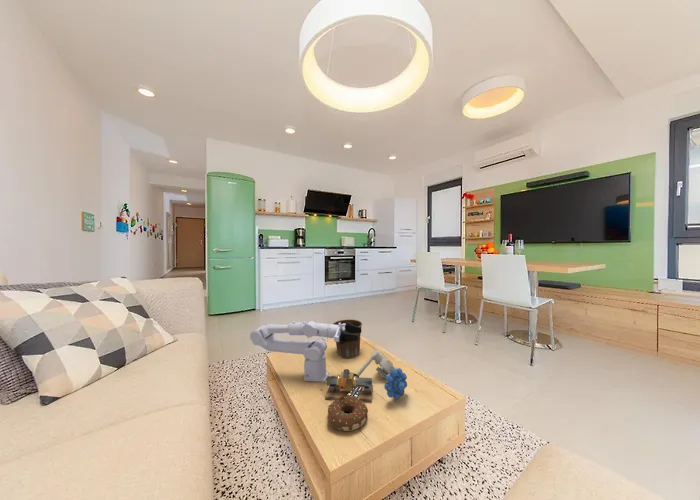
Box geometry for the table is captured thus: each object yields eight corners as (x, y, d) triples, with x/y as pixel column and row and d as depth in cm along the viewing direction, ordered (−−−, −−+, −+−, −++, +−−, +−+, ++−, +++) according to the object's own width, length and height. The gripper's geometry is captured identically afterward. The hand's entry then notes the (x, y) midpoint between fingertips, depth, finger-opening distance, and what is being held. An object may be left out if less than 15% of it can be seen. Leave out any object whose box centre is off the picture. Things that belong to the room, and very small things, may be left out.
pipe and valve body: (326, 393, 99) (325, 377, 99) (329, 386, 104) (328, 371, 104) (371, 395, 97) (371, 379, 96) (372, 388, 101) (372, 373, 101)
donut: (355, 401, 96) (354, 388, 96) (375, 424, 84) (374, 409, 84) (320, 415, 89) (319, 401, 89) (336, 442, 77) (335, 426, 77)
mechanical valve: (403, 373, 108) (380, 350, 106) (375, 408, 104) (351, 385, 102) (392, 364, 118) (371, 343, 116) (367, 395, 114) (344, 374, 112)
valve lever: (344, 373, 102) (343, 368, 101) (350, 373, 101) (349, 368, 101) (338, 390, 91) (338, 384, 90) (345, 390, 90) (345, 385, 90)
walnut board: (325, 399, 97) (325, 396, 97) (330, 386, 106) (330, 383, 106) (371, 402, 95) (371, 399, 95) (372, 388, 104) (372, 385, 103)
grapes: (394, 411, 89) (393, 378, 89) (381, 401, 95) (380, 370, 94) (415, 397, 96) (414, 367, 96) (402, 389, 102) (401, 360, 101)
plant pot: (331, 348, 142) (330, 320, 142) (359, 345, 145) (358, 317, 145) (335, 362, 126) (334, 330, 126) (366, 358, 129) (365, 327, 129)
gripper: (323, 328, 104) (356, 332, 101) (334, 316, 118) (362, 318, 115) (324, 345, 105) (355, 348, 101) (334, 330, 119) (362, 333, 115)
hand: (359, 333), depth 108 cm, fingers open, 7 cm apart
